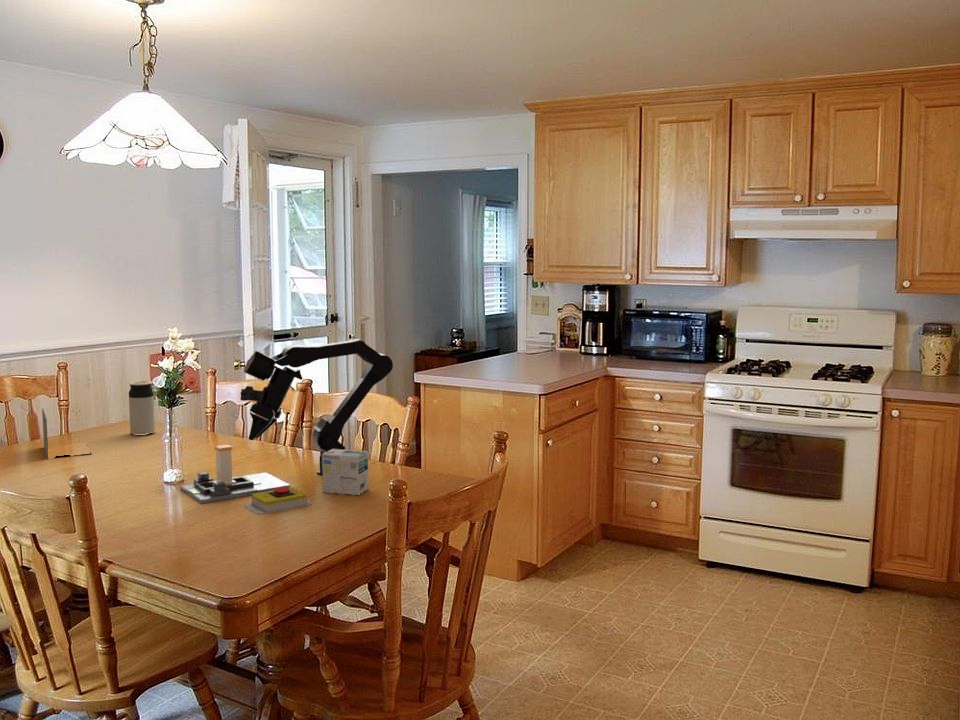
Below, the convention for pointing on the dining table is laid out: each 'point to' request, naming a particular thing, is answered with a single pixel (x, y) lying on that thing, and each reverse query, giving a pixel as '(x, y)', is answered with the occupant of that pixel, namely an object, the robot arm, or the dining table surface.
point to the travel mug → (141, 407)
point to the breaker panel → (231, 487)
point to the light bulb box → (345, 471)
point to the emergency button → (277, 500)
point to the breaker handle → (224, 464)
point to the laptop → (45, 432)
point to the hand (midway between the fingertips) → (252, 438)
